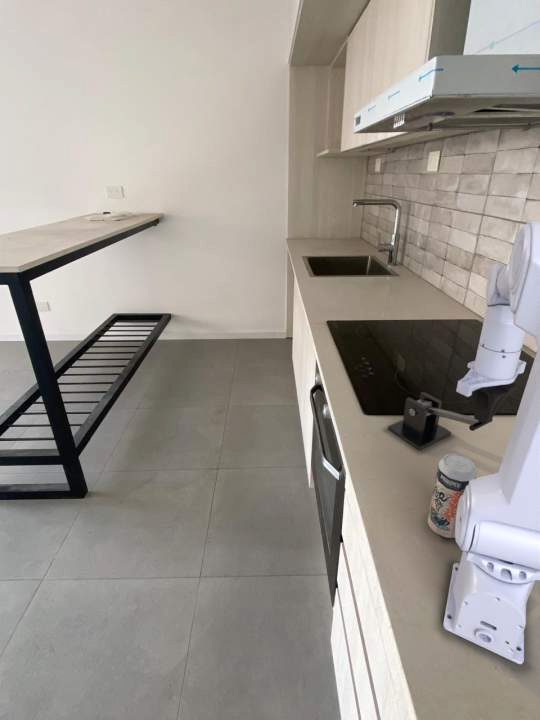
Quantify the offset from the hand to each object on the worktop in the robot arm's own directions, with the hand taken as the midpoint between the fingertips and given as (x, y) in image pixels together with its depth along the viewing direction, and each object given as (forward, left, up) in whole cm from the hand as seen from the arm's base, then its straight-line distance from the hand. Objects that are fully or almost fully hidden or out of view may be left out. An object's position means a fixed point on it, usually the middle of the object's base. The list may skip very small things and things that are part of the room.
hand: (481, 419), depth 66 cm
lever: (+3, +5, -4) cm, 7 cm away
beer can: (-16, +2, -10) cm, 19 cm away
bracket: (+6, +10, -10) cm, 15 cm away
